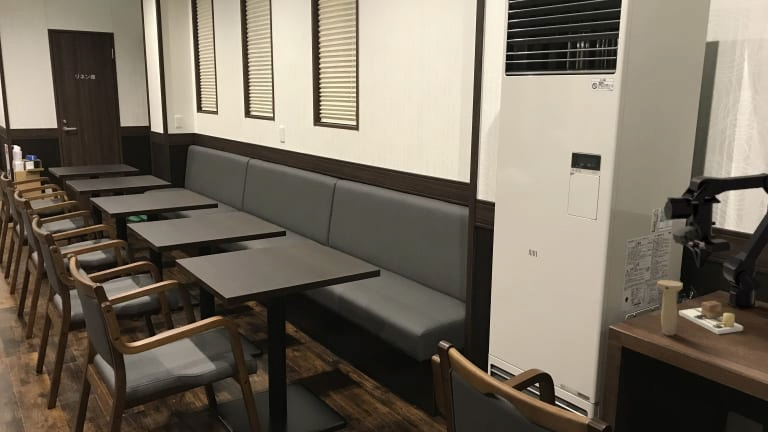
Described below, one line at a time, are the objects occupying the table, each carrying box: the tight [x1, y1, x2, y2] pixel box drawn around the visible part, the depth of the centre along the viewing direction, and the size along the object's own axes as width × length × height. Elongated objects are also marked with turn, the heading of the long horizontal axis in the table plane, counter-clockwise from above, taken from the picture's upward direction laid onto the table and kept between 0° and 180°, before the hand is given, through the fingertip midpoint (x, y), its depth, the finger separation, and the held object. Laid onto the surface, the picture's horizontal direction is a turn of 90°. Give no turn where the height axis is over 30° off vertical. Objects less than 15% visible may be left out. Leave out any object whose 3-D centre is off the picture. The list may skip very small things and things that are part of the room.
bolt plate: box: [678, 307, 744, 335], centre depth 177 cm, size 8×16×4 cm, turn 11°
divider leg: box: [697, 300, 722, 319], centre depth 178 cm, size 6×3×4 cm, turn 101°
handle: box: [656, 279, 684, 336], centre depth 170 cm, size 5×6×15 cm
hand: (699, 267), depth 187 cm, fingers closed
